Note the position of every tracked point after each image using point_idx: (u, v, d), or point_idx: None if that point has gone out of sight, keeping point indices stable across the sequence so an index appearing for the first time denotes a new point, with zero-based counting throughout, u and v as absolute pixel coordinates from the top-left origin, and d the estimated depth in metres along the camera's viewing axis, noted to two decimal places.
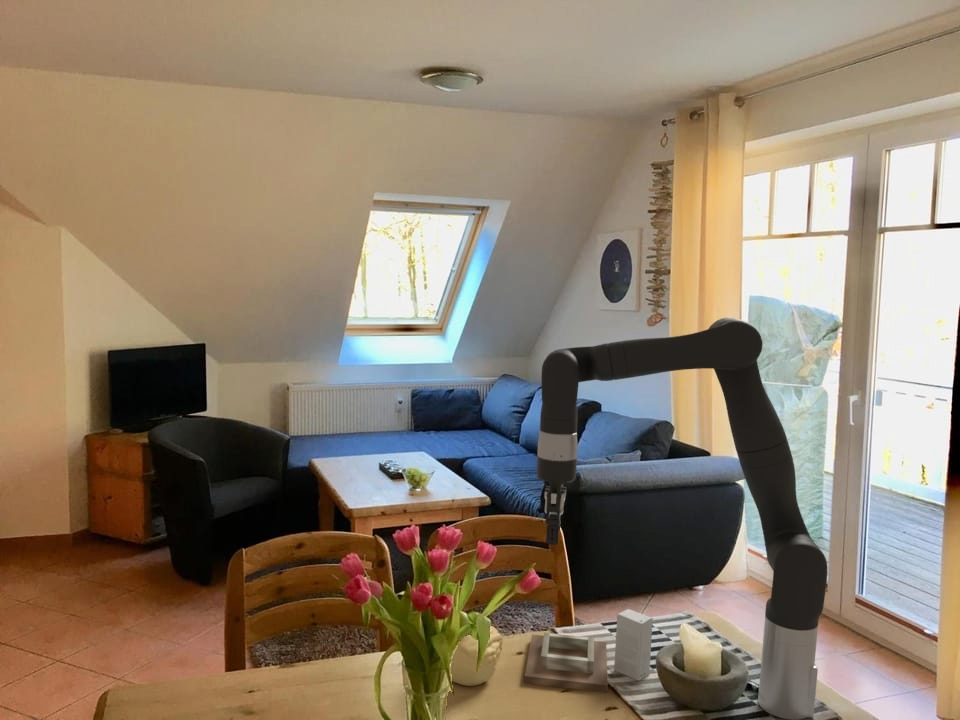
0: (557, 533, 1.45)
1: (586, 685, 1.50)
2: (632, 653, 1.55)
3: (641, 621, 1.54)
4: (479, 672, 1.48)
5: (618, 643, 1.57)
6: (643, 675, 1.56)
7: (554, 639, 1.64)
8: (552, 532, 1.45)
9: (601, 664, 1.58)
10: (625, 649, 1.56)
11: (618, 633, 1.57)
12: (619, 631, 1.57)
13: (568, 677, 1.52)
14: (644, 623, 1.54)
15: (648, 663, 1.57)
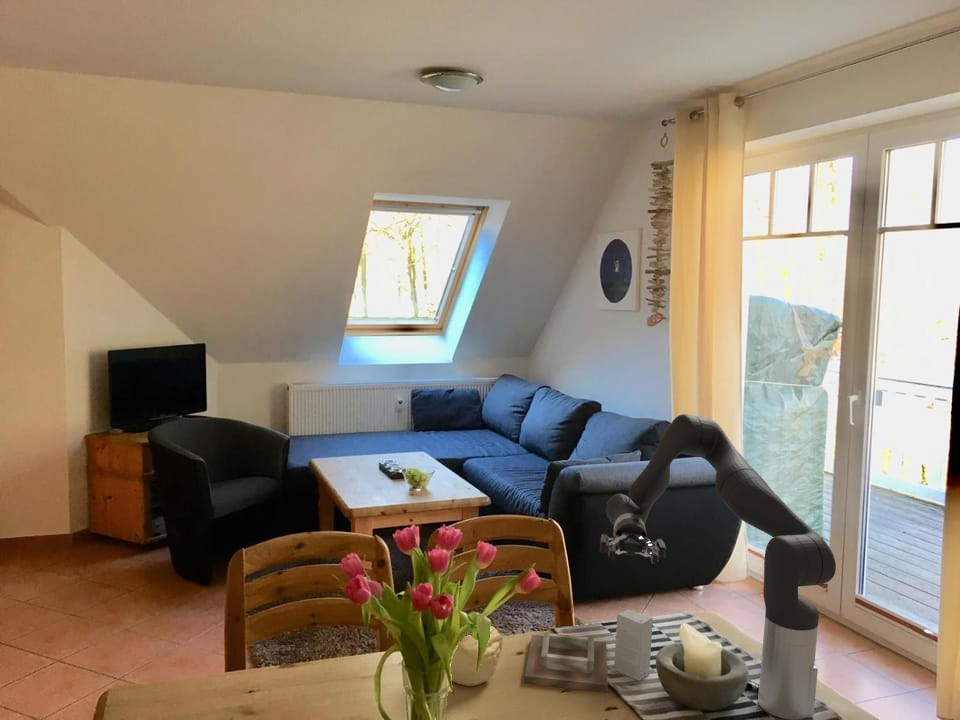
0: (612, 548, 1.71)
1: (586, 685, 1.50)
2: (632, 653, 1.55)
3: (641, 622, 1.54)
4: (479, 672, 1.48)
5: (618, 643, 1.57)
6: (643, 675, 1.56)
7: (554, 639, 1.64)
8: None
9: (601, 664, 1.58)
10: (625, 649, 1.56)
11: (618, 633, 1.57)
12: (619, 631, 1.57)
13: (568, 677, 1.52)
14: (644, 623, 1.54)
15: (648, 663, 1.57)
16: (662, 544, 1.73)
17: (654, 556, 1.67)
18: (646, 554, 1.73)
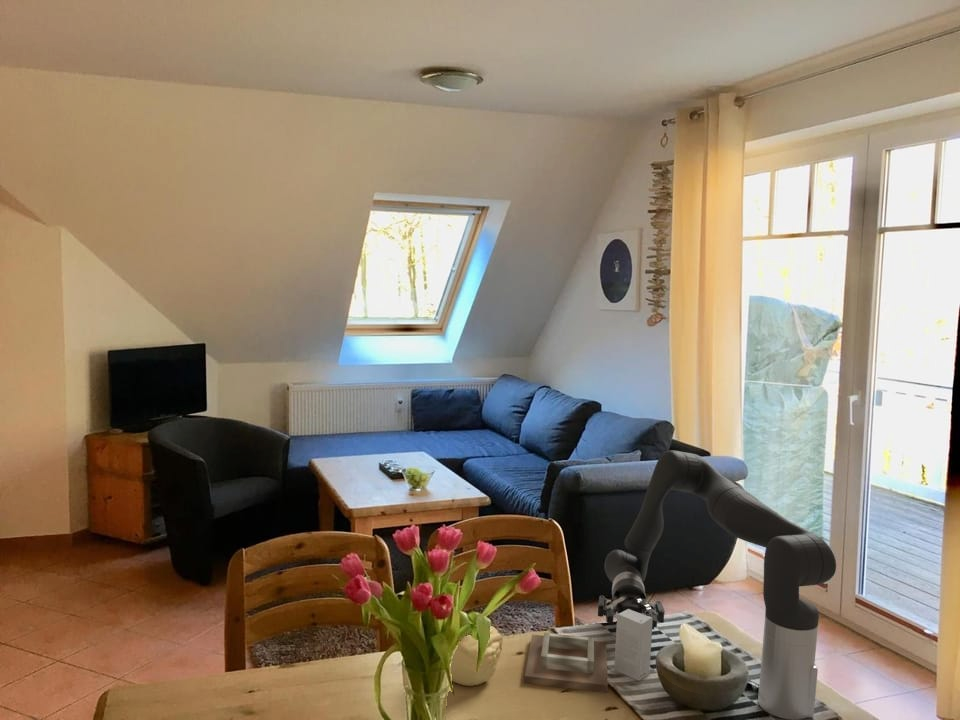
0: (610, 612, 1.68)
1: (586, 685, 1.50)
2: (632, 653, 1.55)
3: (641, 621, 1.54)
4: (479, 672, 1.48)
5: (618, 643, 1.57)
6: (643, 675, 1.56)
7: (554, 639, 1.64)
8: None
9: (601, 664, 1.58)
10: (625, 649, 1.56)
11: (618, 633, 1.57)
12: (619, 631, 1.57)
13: (568, 677, 1.52)
14: (644, 623, 1.54)
15: (648, 663, 1.57)
16: (661, 607, 1.70)
17: (653, 622, 1.64)
18: None
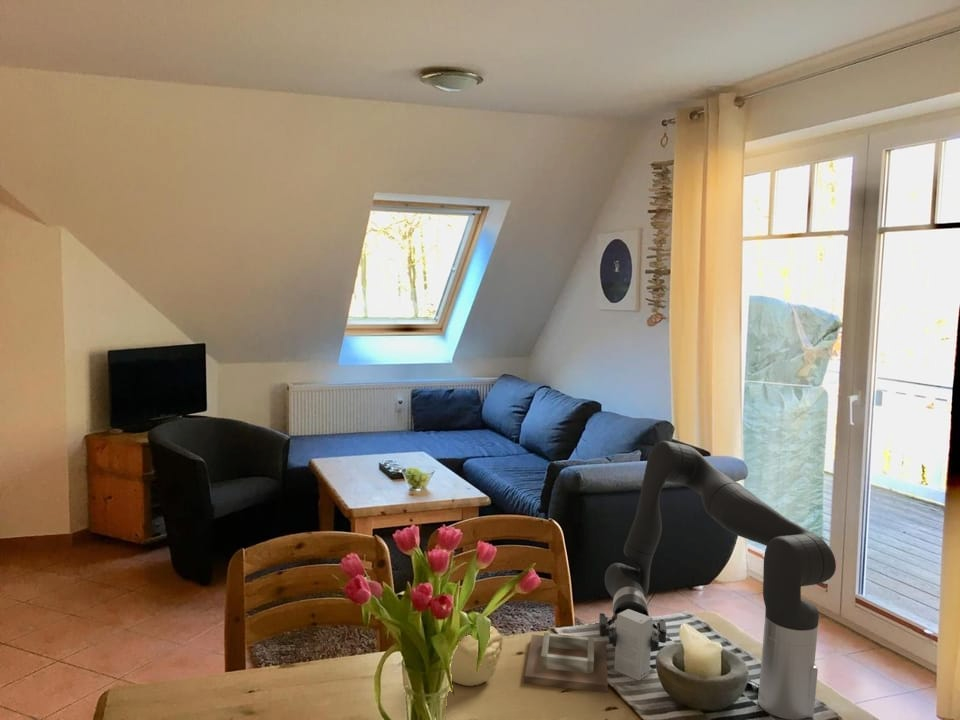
0: (613, 632, 1.58)
1: (586, 685, 1.50)
2: (631, 653, 1.55)
3: (641, 621, 1.54)
4: (479, 672, 1.48)
5: (618, 643, 1.57)
6: (643, 675, 1.56)
7: (554, 639, 1.64)
8: None
9: (601, 664, 1.58)
10: (625, 649, 1.56)
11: (618, 633, 1.57)
12: (619, 631, 1.57)
13: (568, 677, 1.52)
14: (644, 623, 1.54)
15: (648, 663, 1.57)
16: (663, 627, 1.61)
17: (654, 643, 1.55)
18: None
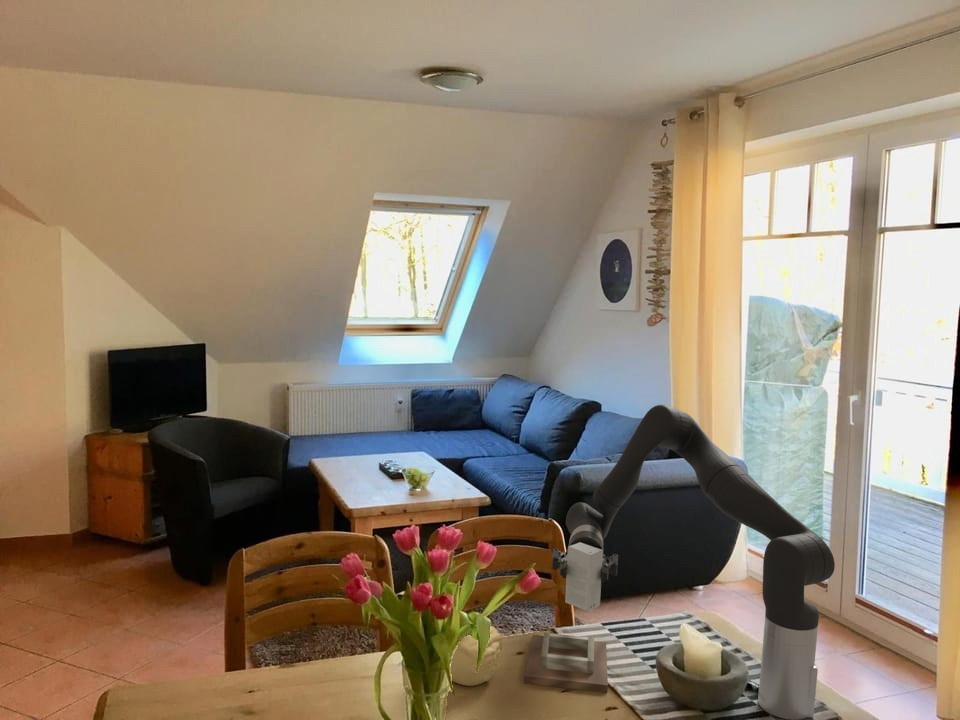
0: (563, 564, 1.59)
1: (586, 685, 1.50)
2: (581, 584, 1.56)
3: (590, 553, 1.55)
4: (479, 672, 1.48)
5: (569, 575, 1.58)
6: (593, 606, 1.57)
7: (554, 639, 1.64)
8: None
9: (601, 664, 1.58)
10: (575, 581, 1.57)
11: (569, 565, 1.58)
12: (570, 563, 1.58)
13: (568, 677, 1.52)
14: (593, 554, 1.55)
15: (598, 595, 1.58)
16: (615, 560, 1.61)
17: (603, 574, 1.55)
18: None
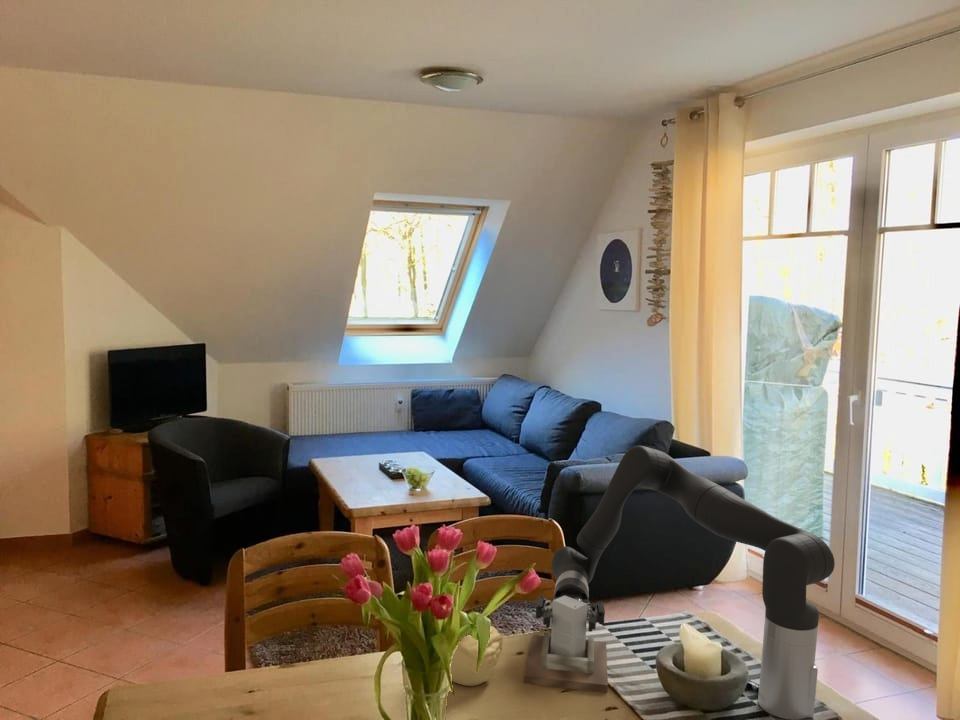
0: (547, 613, 1.60)
1: (586, 685, 1.50)
2: (566, 639, 1.57)
3: (575, 607, 1.56)
4: (479, 672, 1.48)
5: (553, 628, 1.59)
6: None
7: None
8: None
9: (601, 664, 1.58)
10: (560, 635, 1.58)
11: (553, 619, 1.59)
12: (554, 617, 1.59)
13: (568, 677, 1.52)
14: (578, 609, 1.56)
15: (583, 649, 1.58)
16: (602, 608, 1.62)
17: (591, 624, 1.56)
18: None
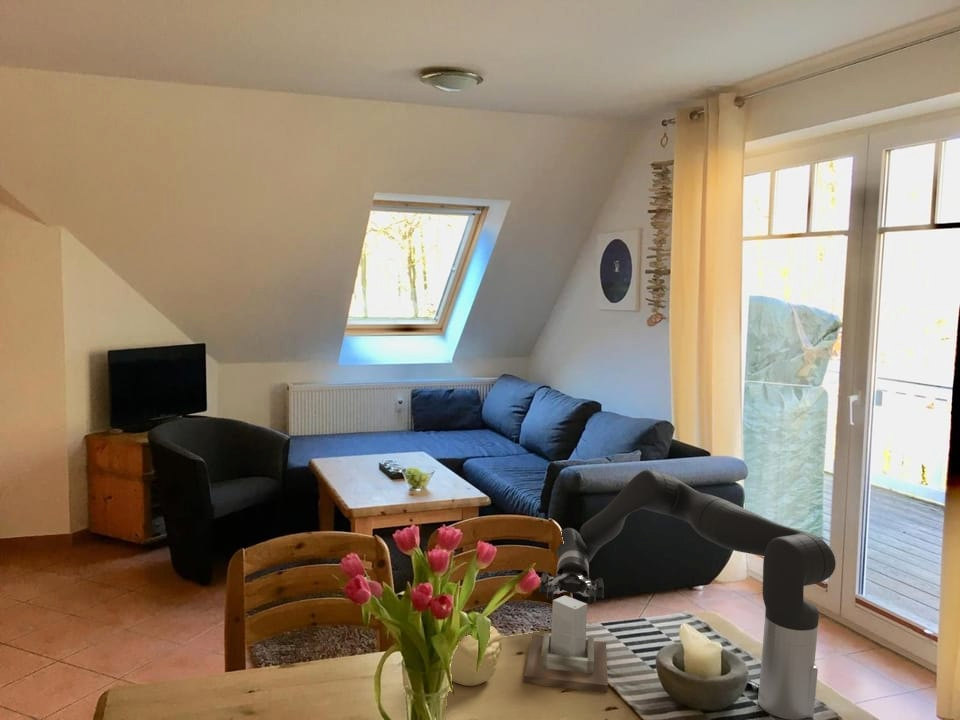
0: (550, 588, 1.72)
1: (586, 685, 1.50)
2: (566, 639, 1.57)
3: (575, 607, 1.56)
4: (479, 672, 1.48)
5: (553, 628, 1.59)
6: None
7: None
8: None
9: (601, 664, 1.58)
10: (560, 635, 1.58)
11: (553, 619, 1.59)
12: (554, 617, 1.59)
13: (568, 677, 1.52)
14: (578, 609, 1.56)
15: (583, 649, 1.58)
16: (601, 584, 1.75)
17: (591, 597, 1.69)
18: (585, 594, 1.75)
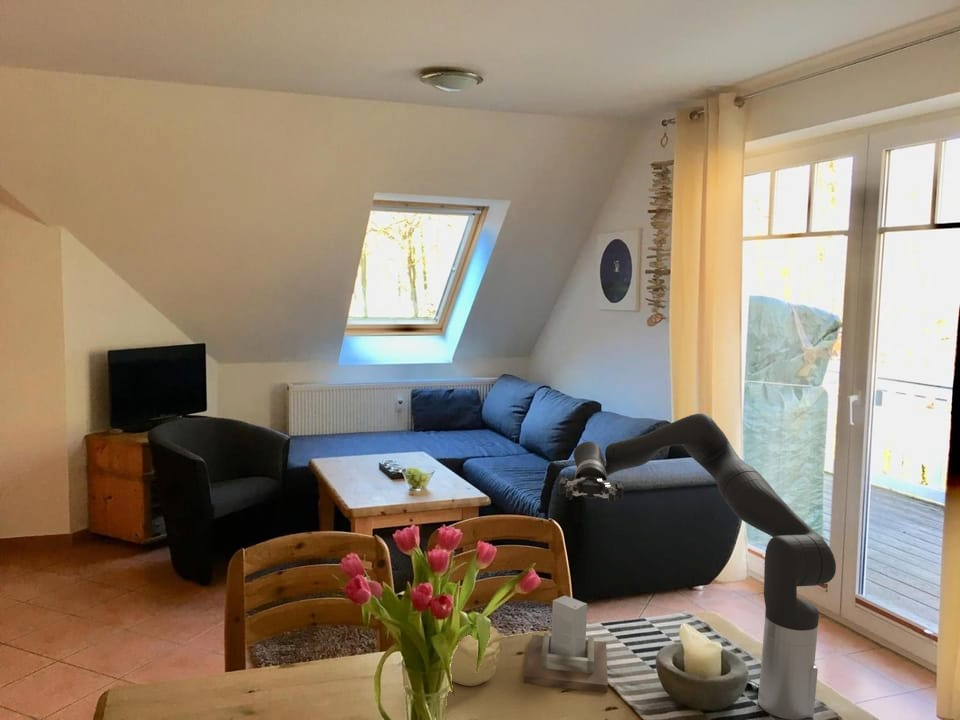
0: (569, 488, 1.72)
1: (586, 685, 1.50)
2: (566, 639, 1.57)
3: (575, 607, 1.56)
4: (479, 672, 1.48)
5: (553, 628, 1.59)
6: None
7: None
8: None
9: (601, 664, 1.58)
10: (560, 635, 1.58)
11: (553, 619, 1.59)
12: (554, 617, 1.59)
13: (568, 677, 1.52)
14: (578, 609, 1.56)
15: (583, 649, 1.58)
16: (620, 485, 1.74)
17: (610, 495, 1.68)
18: (604, 495, 1.74)
